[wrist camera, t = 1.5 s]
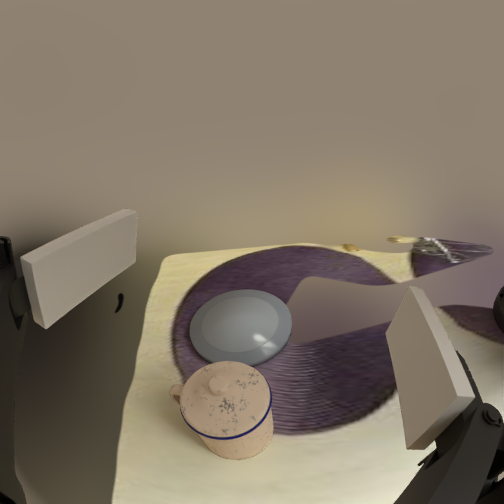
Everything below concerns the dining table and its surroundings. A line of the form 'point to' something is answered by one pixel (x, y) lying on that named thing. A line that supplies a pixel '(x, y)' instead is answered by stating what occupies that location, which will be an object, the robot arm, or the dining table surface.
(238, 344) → the dish
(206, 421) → the teacup with lid
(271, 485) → the dining table surface
